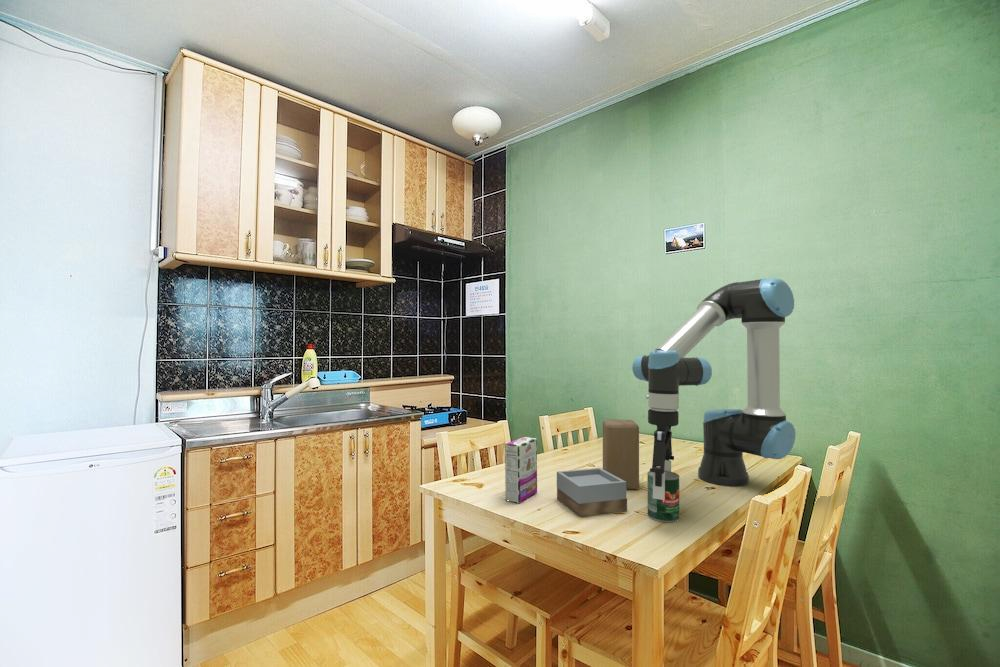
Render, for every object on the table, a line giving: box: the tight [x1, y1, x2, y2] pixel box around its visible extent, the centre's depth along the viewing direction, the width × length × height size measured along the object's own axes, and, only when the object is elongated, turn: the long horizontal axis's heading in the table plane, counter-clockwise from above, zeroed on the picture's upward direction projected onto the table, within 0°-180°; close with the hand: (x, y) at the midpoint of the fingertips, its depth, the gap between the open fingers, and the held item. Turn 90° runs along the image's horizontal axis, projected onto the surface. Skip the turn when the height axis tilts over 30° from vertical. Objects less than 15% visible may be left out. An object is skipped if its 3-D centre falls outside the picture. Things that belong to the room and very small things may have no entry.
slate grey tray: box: [556, 467, 627, 504], centre depth 127 cm, size 14×14×4 cm
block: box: [602, 418, 640, 490], centre depth 145 cm, size 10×10×20 cm
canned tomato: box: [647, 470, 681, 523], centre depth 119 cm, size 8×8×11 cm
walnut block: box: [556, 487, 628, 518], centre depth 126 cm, size 14×14×4 cm
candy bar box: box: [504, 436, 538, 504], centre depth 133 cm, size 11×5×16 cm, turn 148°
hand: (662, 491), depth 118 cm, fingers open, 13 cm apart
